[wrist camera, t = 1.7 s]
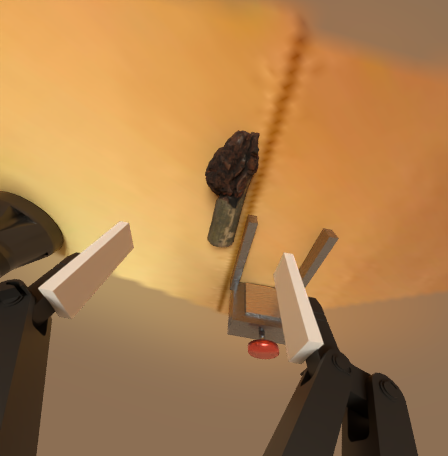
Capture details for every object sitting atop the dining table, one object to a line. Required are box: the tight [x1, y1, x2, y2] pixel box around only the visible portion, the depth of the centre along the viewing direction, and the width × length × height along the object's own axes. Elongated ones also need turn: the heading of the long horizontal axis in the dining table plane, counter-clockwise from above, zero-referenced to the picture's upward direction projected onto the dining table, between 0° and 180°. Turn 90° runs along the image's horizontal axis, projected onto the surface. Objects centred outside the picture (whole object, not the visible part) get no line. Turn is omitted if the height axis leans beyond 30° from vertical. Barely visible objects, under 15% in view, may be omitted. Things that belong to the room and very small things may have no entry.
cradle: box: [228, 215, 339, 359], centre depth 31 cm, size 15×24×12 cm, turn 171°
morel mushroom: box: [205, 131, 260, 247], centre depth 25 cm, size 18×7×6 cm, turn 168°
